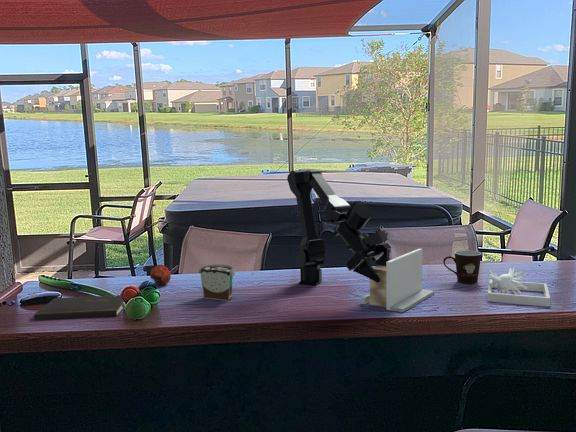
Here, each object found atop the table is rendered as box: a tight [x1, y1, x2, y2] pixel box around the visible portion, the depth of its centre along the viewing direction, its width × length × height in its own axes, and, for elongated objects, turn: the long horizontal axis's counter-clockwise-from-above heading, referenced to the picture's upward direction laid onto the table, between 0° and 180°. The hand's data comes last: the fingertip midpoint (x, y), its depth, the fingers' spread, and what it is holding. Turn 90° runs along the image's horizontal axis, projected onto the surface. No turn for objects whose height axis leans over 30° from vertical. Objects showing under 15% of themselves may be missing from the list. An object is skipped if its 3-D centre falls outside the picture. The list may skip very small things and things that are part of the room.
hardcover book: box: [33, 294, 124, 321], centre depth 158 cm, size 16×23×2 cm
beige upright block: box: [369, 265, 386, 308], centre depth 155 cm, size 6×5×11 cm
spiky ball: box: [486, 267, 528, 295], centre depth 163 cm, size 11×12×8 cm
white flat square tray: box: [487, 279, 551, 308], centre depth 160 cm, size 17×17×2 cm
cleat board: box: [360, 248, 435, 313], centre depth 160 cm, size 14×22×14 cm, turn 142°
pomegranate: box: [149, 264, 172, 286], centre depth 184 cm, size 7×7×10 cm
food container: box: [198, 264, 236, 302], centre depth 167 cm, size 12×6×10 cm, turn 65°
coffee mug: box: [442, 249, 482, 285], centre depth 178 cm, size 12×9×10 cm
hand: (387, 278), depth 154 cm, fingers open, 9 cm apart
